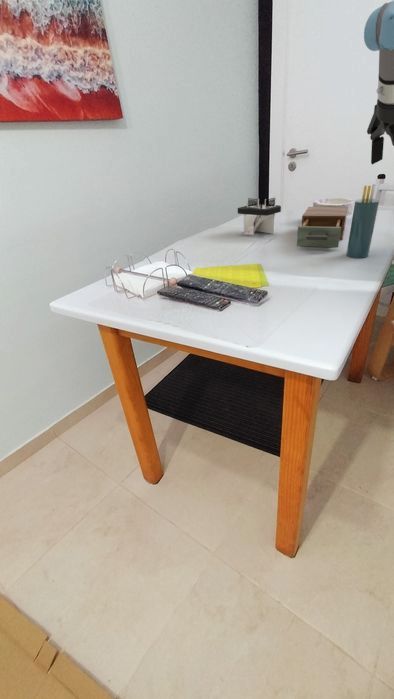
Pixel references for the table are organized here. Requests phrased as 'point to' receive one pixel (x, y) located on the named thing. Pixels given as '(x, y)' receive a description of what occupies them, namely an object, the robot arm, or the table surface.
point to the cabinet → (327, 215)
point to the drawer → (319, 233)
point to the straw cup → (362, 225)
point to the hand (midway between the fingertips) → (389, 175)
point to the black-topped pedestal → (259, 216)
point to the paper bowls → (335, 203)
